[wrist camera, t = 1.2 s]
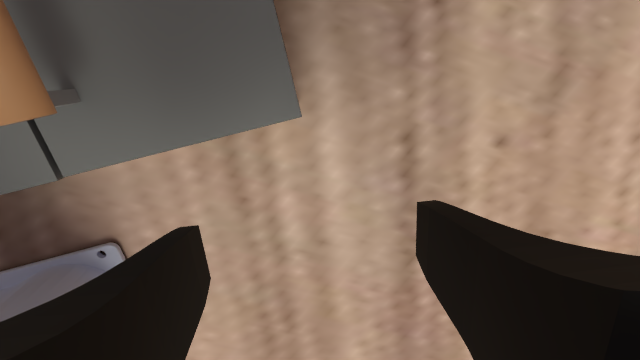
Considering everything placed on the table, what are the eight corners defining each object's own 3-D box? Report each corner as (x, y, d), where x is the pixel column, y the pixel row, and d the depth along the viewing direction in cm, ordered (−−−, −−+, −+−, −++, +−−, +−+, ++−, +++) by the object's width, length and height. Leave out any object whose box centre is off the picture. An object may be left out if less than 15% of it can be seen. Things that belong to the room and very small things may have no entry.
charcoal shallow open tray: (-5, 187, 19) (-64, 211, 16) (-177, -103, 15) (-309, -155, 11) (297, 110, 20) (302, 118, 17) (224, -181, 16) (212, -251, 12)
